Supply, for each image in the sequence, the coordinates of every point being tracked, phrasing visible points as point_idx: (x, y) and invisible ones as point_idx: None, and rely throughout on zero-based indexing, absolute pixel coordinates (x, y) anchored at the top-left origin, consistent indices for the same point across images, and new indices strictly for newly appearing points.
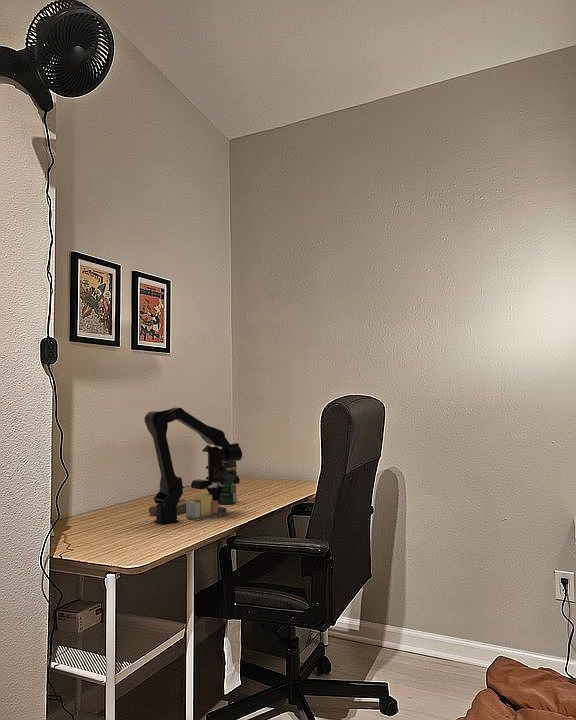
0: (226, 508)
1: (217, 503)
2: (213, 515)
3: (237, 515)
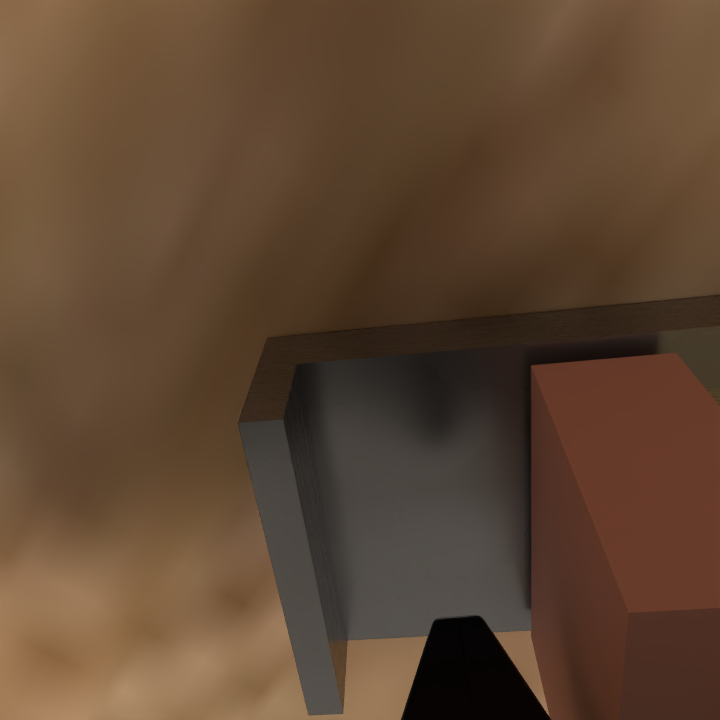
0: (250, 416)
1: (610, 531)
2: (670, 317)
3: (68, 121)
